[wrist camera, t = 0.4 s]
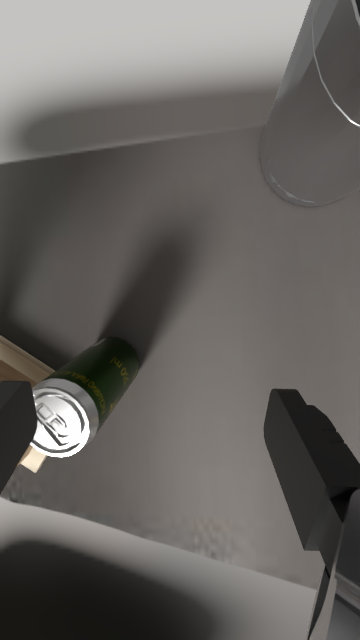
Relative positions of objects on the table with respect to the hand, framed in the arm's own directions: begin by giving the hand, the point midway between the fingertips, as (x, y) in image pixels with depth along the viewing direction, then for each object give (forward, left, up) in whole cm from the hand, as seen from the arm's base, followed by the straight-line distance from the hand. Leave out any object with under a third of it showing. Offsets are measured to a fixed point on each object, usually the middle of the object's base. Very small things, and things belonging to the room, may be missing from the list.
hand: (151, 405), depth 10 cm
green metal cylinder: (+9, -4, -19) cm, 22 cm away
